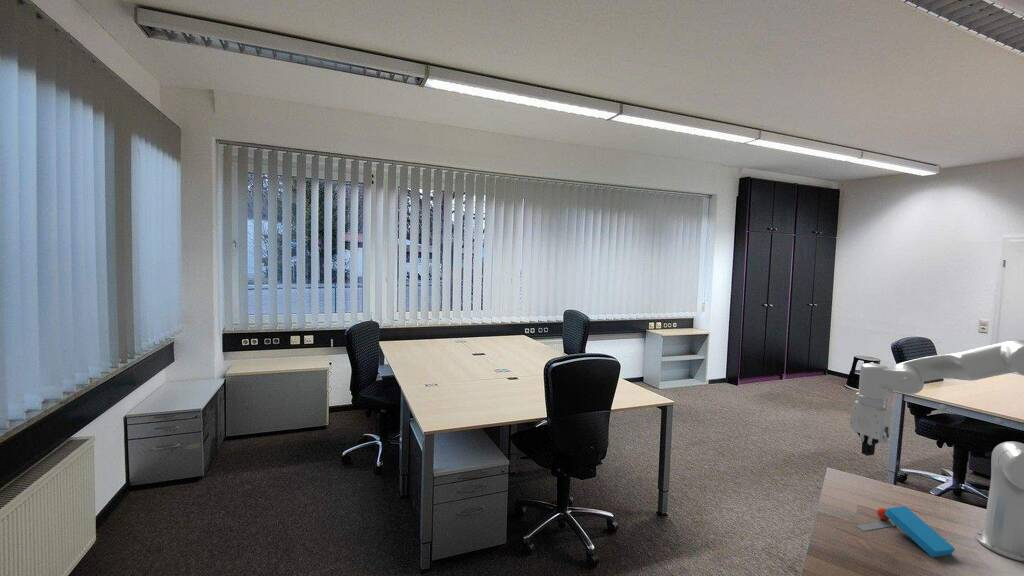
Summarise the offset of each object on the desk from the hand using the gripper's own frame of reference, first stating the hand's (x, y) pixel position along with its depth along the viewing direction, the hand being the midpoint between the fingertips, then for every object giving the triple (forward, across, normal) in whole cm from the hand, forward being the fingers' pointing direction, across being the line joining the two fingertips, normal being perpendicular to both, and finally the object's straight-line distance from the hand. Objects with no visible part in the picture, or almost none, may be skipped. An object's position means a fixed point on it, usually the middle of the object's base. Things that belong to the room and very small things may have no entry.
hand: (867, 454), depth 144 cm
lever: (+19, +15, -1) cm, 24 cm away
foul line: (+18, +9, -1) cm, 21 cm away
